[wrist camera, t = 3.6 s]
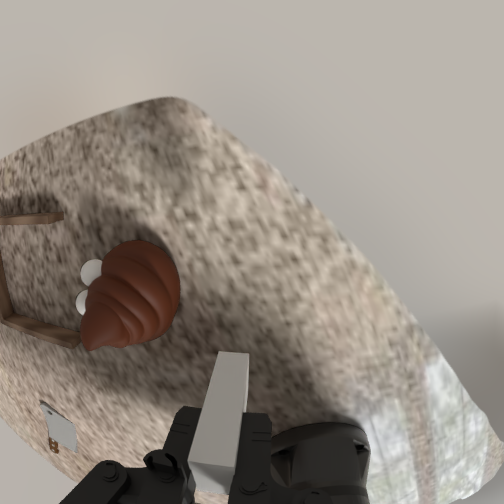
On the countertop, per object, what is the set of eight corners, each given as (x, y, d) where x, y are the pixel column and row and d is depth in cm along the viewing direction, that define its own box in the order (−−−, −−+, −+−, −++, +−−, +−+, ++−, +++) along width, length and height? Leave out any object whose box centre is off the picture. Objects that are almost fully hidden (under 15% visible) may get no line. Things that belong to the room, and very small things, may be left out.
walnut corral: (63, 211, 23) (47, 215, 20) (84, 338, 26) (73, 349, 24) (-7, 216, 24) (-20, 219, 21) (12, 316, 27) (1, 323, 25)
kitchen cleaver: (77, 467, 38) (43, 444, 37) (79, 464, 39) (44, 442, 38) (85, 432, 32) (39, 400, 31) (87, 428, 33) (42, 396, 32)
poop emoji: (164, 346, 26) (128, 409, 17) (95, 307, 25) (42, 352, 16) (198, 262, 23) (158, 310, 14) (117, 221, 23) (48, 244, 14)
